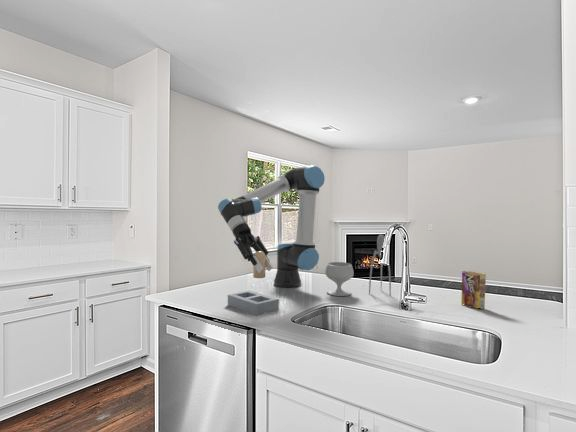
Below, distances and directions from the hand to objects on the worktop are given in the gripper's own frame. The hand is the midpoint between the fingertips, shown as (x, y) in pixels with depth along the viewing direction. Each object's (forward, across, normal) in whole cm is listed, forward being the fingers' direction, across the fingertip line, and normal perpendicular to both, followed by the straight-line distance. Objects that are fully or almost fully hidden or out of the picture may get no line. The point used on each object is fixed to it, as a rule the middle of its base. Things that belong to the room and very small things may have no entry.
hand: (265, 269), depth 147 cm
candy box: (+56, -68, +32) cm, 93 cm away
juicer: (+28, -61, +3) cm, 67 cm away
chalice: (+16, -46, -8) cm, 50 cm away
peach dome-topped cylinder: (0, 0, -5) cm, 5 cm away
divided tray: (+6, 0, -18) cm, 19 cm away
